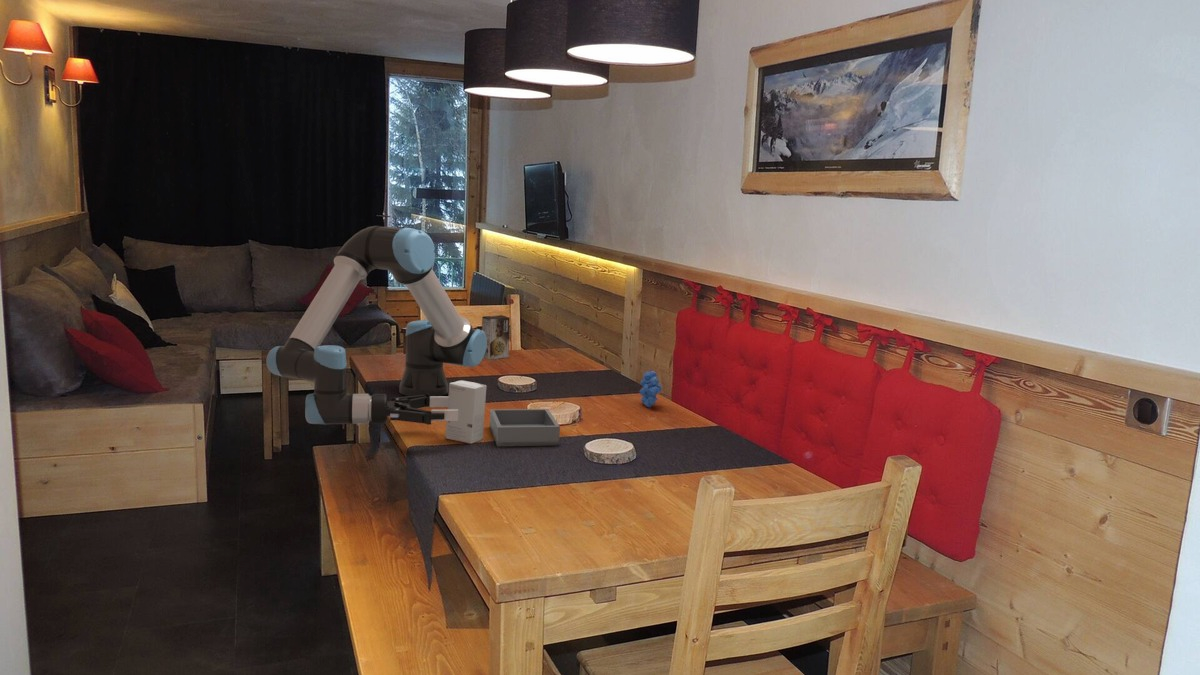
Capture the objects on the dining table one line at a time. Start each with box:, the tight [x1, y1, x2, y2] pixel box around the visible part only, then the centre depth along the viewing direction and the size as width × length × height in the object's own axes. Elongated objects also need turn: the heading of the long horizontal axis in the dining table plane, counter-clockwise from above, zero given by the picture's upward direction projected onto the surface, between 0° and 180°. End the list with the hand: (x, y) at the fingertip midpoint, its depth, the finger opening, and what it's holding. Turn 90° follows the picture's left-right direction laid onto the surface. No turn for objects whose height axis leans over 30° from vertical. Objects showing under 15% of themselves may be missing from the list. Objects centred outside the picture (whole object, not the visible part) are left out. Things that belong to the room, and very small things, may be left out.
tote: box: [489, 408, 561, 447], centre depth 223 cm, size 18×16×5 cm
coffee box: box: [481, 314, 511, 360], centre depth 326 cm, size 9×6×16 cm
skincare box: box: [445, 379, 487, 444], centre depth 216 cm, size 8×6×15 cm
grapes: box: [639, 370, 663, 408], centre depth 260 cm, size 12×7×12 cm, turn 18°
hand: (456, 408), depth 215 cm, fingers open, 13 cm apart
